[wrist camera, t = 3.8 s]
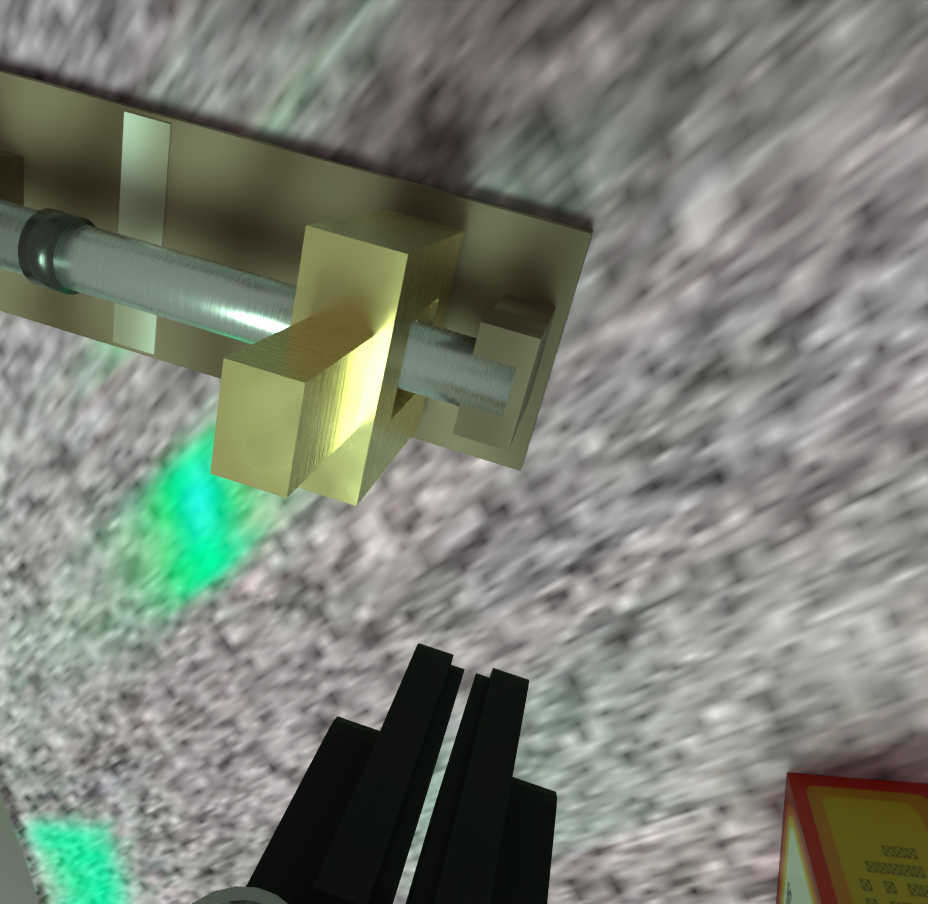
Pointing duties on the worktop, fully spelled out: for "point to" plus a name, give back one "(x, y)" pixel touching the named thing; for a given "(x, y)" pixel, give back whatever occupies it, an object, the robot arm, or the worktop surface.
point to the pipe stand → (275, 239)
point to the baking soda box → (853, 841)
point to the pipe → (220, 298)
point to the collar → (337, 360)
